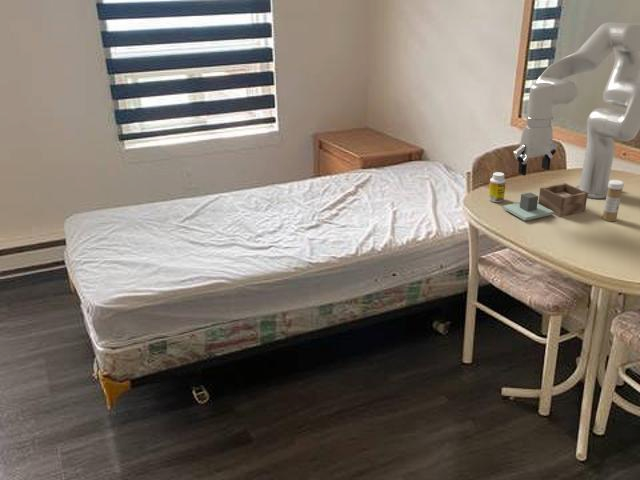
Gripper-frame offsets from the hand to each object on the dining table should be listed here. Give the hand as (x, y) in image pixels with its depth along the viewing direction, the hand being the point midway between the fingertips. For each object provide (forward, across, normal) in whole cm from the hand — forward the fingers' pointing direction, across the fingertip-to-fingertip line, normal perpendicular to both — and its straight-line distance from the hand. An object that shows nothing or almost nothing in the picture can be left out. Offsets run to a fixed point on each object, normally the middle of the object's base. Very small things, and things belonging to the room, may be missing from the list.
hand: (533, 171), depth 200 cm
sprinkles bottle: (+16, -20, +16) cm, 30 cm away
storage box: (+16, -12, +2) cm, 20 cm away
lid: (+16, +1, 0) cm, 16 cm away
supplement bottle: (+16, +3, -15) cm, 22 cm away
